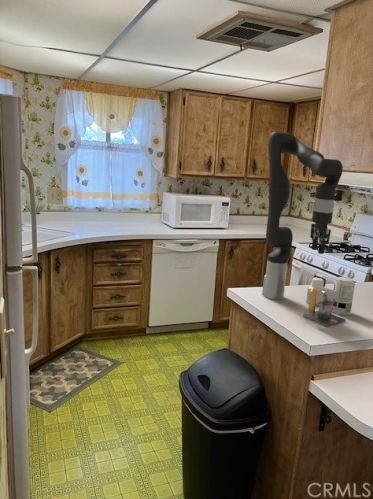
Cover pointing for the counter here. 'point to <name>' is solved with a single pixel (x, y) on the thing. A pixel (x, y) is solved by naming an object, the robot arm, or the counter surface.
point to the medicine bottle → (316, 286)
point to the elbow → (320, 298)
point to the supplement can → (343, 295)
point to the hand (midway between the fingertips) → (317, 251)
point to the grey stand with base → (325, 316)
